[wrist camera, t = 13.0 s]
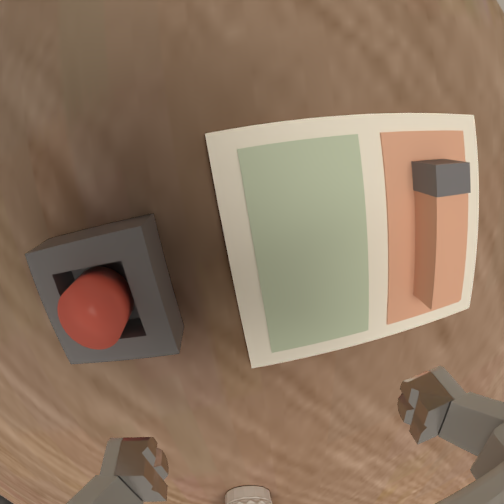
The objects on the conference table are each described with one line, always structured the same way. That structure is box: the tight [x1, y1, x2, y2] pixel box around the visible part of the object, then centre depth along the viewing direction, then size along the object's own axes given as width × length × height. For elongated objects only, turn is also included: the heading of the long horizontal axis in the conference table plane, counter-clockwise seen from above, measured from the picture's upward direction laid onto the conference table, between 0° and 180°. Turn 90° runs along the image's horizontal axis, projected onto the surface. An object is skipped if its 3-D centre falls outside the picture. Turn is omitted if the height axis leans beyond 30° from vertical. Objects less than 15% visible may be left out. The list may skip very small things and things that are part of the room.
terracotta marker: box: [411, 159, 471, 310], centre depth 23 cm, size 4×12×3 cm, turn 9°
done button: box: [57, 266, 134, 350], centre depth 21 cm, size 5×5×4 cm
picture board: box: [205, 113, 479, 368], centre depth 25 cm, size 24×20×1 cm
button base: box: [25, 213, 184, 364], centre depth 23 cm, size 10×10×4 cm
